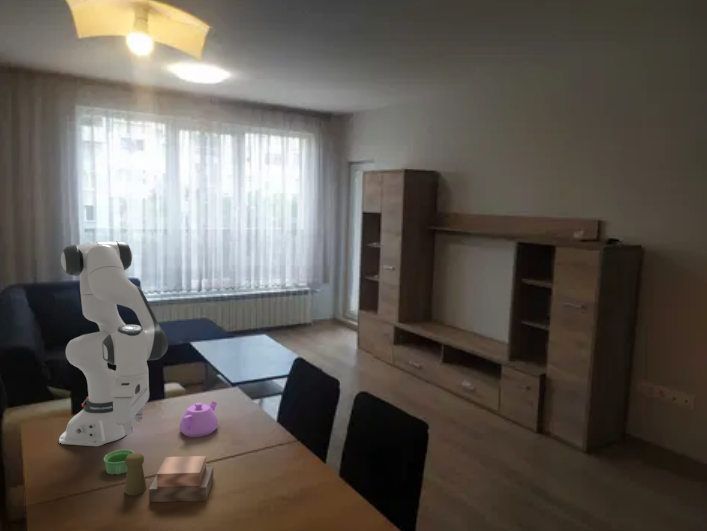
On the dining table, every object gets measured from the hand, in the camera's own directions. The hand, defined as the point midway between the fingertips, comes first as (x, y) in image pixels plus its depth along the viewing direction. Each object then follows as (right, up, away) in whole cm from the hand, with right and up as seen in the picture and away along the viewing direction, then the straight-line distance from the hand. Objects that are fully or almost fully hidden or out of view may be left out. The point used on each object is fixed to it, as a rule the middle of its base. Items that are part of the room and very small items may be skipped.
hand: (133, 426), depth 150 cm
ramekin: (-11, -18, +14) cm, 26 cm away
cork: (-1, -20, +2) cm, 20 cm away
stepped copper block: (+13, -20, +3) cm, 24 cm away
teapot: (+6, -15, +44) cm, 47 cm away
